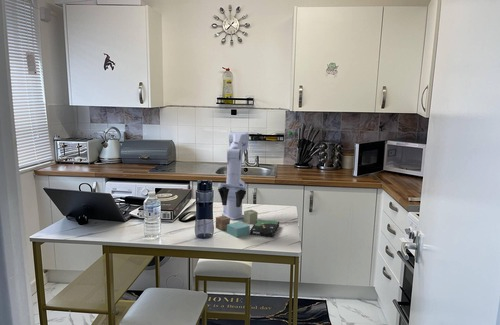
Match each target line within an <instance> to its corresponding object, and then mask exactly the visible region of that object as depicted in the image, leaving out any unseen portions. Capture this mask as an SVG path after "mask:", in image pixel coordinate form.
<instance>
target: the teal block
mask: <svg viewBox="0 0 500 325" xmlns="http://www.w3.org/2000/svg"><path fill="white" fill-rule="evenodd" d="M250 229H251V226H250V224H248V223H244V222H242V221H240V220H239V221H236V222H232V223H231V222H230V224H227V230H226V233H227V234H228V235H230V236H233V237H235V238H240V237H244V236H249V235H250Z"/></svg>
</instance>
